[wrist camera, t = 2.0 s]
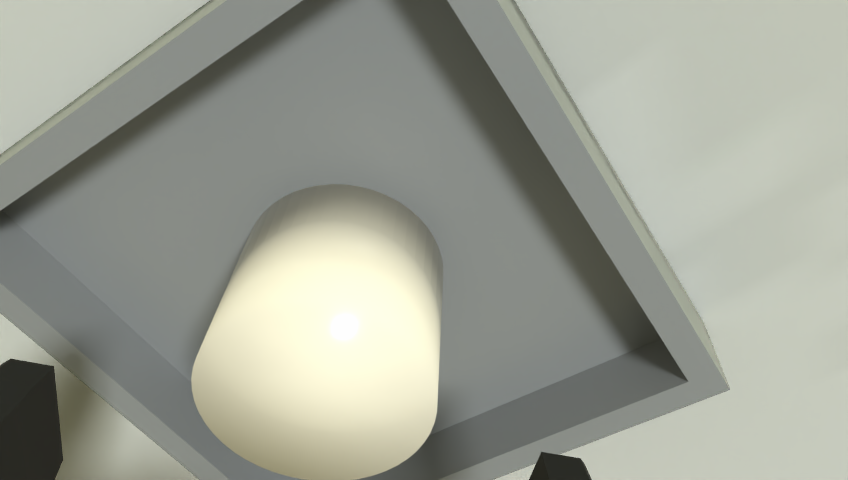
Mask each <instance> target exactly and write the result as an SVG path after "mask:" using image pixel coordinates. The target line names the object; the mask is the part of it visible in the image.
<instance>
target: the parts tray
mask: <svg viewBox="0 0 848 480" xmlns="http://www.w3.org/2000/svg"><path fill="white" fill-rule="evenodd" d="M328 184H343V185H352V186H359V187H363V188H367V189H371V190H374V191H377V192H379V193H382V194H385V195H387V196H389V197H391V198H393V199H395V200H396V201H398V202H400V203H401V204H403V205H404V206H406V207H407V208H409V209H410V210H411V211H412V212H413V213H414V214H416V215H417V216H418V217H419V218H420V219H421V220H422V222H423V223H424V224H425V225H426V226H427V227H428V229H429V230H430V232H431V233H432V235H433V236H434V238H435V241H436V243H437V245H438V247H439V250H440V253H441V257H442V262H443V293H442V315H441V337H440V358H439V380H438V402H437V414H436V419H435V423H434V426H433V428H432V430H431V433H430V434H429V436H428V438H427V439H426V441H425V442H424V444H423V445H422V446H421V447H420V448H419V449H418V450H417V451H416V452H415V453H414V454H413V455H412V456H410V457H409V458H408V459H407V460H405V461H404V462H402V463H400V464H399V465H397V466H395V467H393V468H391V469H389V470H387V471H385V472H382V473H379V474H376V475H373V476H369V477H365V478H361V479H355V480H493V479H496V478H499V477H501V476H504V475H506V474H509V473H512V472H514V471H517V470H520V469H522V468H525V467H528V466H530V465H533V464H535V463H537V461H538V458H539V456H540V454H541V452H546V453H552V454H557V455H559V454H562V453H564V452H567V451H570V450H572V449H575V448H578V447H580V446H583V445H586V444H588V443H591V442H593V441H596V440H599V439H601V438H604V437H607V436H609V435H612V434H615V433H617V432H620V431H622V430H625V429H628V428H630V427H633V426H636V425H638V424H641V423H644V422H646V421H649V420H651V419H654V418H657V417H659V416H662V415H665V414H667V413H670V412H673V411H675V410H678V409H680V408H683V407H686V406H688V405H691V404H694V403H696V402H699V401H702V400H704V399H707V398H709V397H712V396H715V395H717V394H720V393H723V392H725V391H728V390H730V388H729V385H728V383H727V380H726V378H725V375H724V373H723V370H722V368H721V365H720V363H719V360H718V358H717V355H716V353H715V350H714V348H713V345H712V342H711V340H710V337H709V335H708V332H707V330H706V327H705V325H704V323H703V321H702V319H701V317H700V316H699V314H698V312H697V311H696V309H695V307H694V306H693V304H692V302H691V300H690V299H689V297H688V295H687V294H686V292H685V290H684V288H683V287H682V285H681V283H680V282H679V280H678V278H677V277H676V275H675V273H674V271H673V270H672V268H671V266H670V265H669V263H668V261H667V259H666V258H665V256H664V254H663V253H662V251H661V249H660V248H659V246H658V244H657V242H656V241H655V239H654V237H653V236H652V234H651V232H650V231H649V229H648V227H647V225H646V224H645V222H644V220H643V219H642V217H641V215H640V213H639V212H638V210H637V208H636V207H635V205H634V203H633V202H632V200H631V198H630V196H629V195H628V193H627V191H626V190H625V188H624V186H623V184H622V183H621V181H620V179H619V178H618V176H617V174H616V173H615V171H614V169H613V167H612V166H611V164H610V162H609V161H608V159H607V157H606V156H605V154H604V152H603V150H602V149H601V147H600V145H599V144H598V142H597V140H596V138H595V137H594V135H593V133H592V132H591V130H590V128H589V127H588V125H587V123H586V121H585V120H584V118H583V116H582V115H581V113H580V111H579V109H578V108H577V106H576V104H575V103H574V101H573V99H572V98H571V96H570V94H569V92H568V91H567V89H566V87H565V86H564V84H563V82H562V81H561V79H560V77H559V75H558V74H557V72H556V70H555V69H554V67H553V65H552V63H551V62H550V60H549V58H548V57H547V55H546V53H545V52H544V50H543V48H542V46H541V45H540V43H539V41H538V40H537V38H536V36H535V34H534V33H533V31H532V29H531V28H530V26H529V24H528V23H527V21H526V19H525V17H524V16H523V14H522V12H521V11H520V9H519V7H518V6H517V4H516V2H515V0H210V1H209V2H207V3H206V4H205V5H203V6H202V7H201V8H199V9H198V10H196V11H195V12H194V13H192V14H191V15H190V16H188V17H187V18H186V19H184V20H183V21H182V22H180V23H179V24H177V25H176V26H175V27H173V28H172V29H171V30H169V31H168V32H167V33H165V34H164V35H162V36H161V37H160V38H158V39H157V40H156V41H154V42H153V43H152V44H150V45H149V46H147V47H146V48H145V49H143V50H142V51H141V52H139V53H138V54H137V55H135V56H134V57H133V58H131V59H130V60H128V61H127V62H126V63H124V64H123V65H122V66H120V67H119V68H118V69H116V70H115V71H113V72H112V73H111V74H109V75H108V76H107V77H105V78H104V79H103V80H101V81H100V82H99V83H97V84H96V85H94V86H93V87H92V88H90V89H89V90H88V91H86V92H85V93H84V94H82V95H81V96H79V97H78V98H77V99H75V100H74V101H73V102H71V103H70V104H69V105H67V106H66V107H64V108H63V109H62V110H60V111H59V112H58V113H56V114H55V115H54V116H52V117H51V118H50V119H48V120H47V121H45V122H44V123H43V124H41V125H40V126H39V127H37V128H36V129H35V130H33V131H32V132H30V133H29V134H28V135H26V136H25V137H24V138H22V139H21V140H20V141H18V142H17V143H15V144H14V145H13V146H11V147H10V148H9V149H7V150H6V151H5V152H3V153H2V154H1V155H0V313H1V314H2V315H3V316H4V317H6V318H7V319H8V320H9V321H10V322H12V323H13V324H14V325H15V326H16V327H18V328H19V329H20V330H21V331H22V332H24V333H25V334H26V335H27V336H28V337H29V338H31V339H32V340H33V341H34V342H35V343H37V344H38V345H39V346H40V347H41V348H43V349H44V350H45V351H46V352H47V353H49V354H50V355H51V356H52V357H53V358H55V359H56V360H57V361H58V362H59V363H61V364H62V365H63V366H64V367H65V368H67V369H68V370H69V371H70V372H71V373H73V374H74V375H75V376H76V377H77V378H78V379H80V380H81V381H82V382H83V383H84V384H86V385H87V386H88V387H89V388H90V389H92V390H93V391H94V392H95V393H96V394H98V395H99V396H100V397H101V398H102V399H104V400H105V401H106V402H107V403H108V404H110V405H111V406H112V407H113V408H114V409H116V410H117V411H118V412H119V413H120V414H121V415H123V416H124V417H125V418H126V419H127V420H129V421H130V422H131V423H132V424H133V425H135V426H136V427H137V428H138V429H139V430H141V431H142V432H143V433H144V434H145V435H147V436H148V437H149V438H150V439H151V440H153V441H154V442H155V443H156V444H157V445H159V446H160V447H161V448H162V449H163V450H165V451H166V452H167V453H168V454H169V455H170V456H172V457H173V458H174V459H175V460H176V461H178V462H179V463H180V464H181V465H182V466H184V467H185V468H186V469H187V470H188V471H190V472H191V473H192V474H193V475H194V476H196V477H197V478H198V479H199V480H305V479H299V478H294V477H289V476H285V475H282V474H279V473H275V472H272V471H270V470H267V469H265V468H262V467H260V466H257V465H256V464H254V463H252V462H250V461H248V460H246V459H244V458H243V457H241V456H239V455H238V454H236V453H235V452H233V451H232V450H231V449H230V448H228V447H227V446H226V445H224V444H223V443H222V442H221V441H220V440H219V439H218V438H217V437H216V436H215V435H214V434H213V433H212V431H211V430H210V429H209V428H208V426H207V425H206V424H205V422H204V420H203V419H202V417H201V415H200V414H199V412H198V409H197V407H196V404H195V402H194V398H193V393H192V383H191V377H192V370H193V365H194V362H195V360H196V357H197V354H198V352H199V350H200V347H201V345H202V343H203V340H204V338H205V336H206V333H207V331H208V329H209V327H210V324H211V322H212V320H213V317H214V315H215V313H216V311H217V308H218V306H219V304H220V301H221V299H222V297H223V294H224V292H225V290H226V288H227V285H228V283H229V281H230V278H231V276H232V274H233V271H234V269H235V267H236V265H237V262H238V260H239V258H240V255H241V253H242V251H243V248H244V246H245V244H246V242H247V239H248V237H249V235H250V232H251V230H252V228H253V227H254V225H255V223H256V221H257V220H258V219H259V217H260V216H261V215H262V214H263V212H264V211H266V210H267V209H268V208H269V207H270V206H271V205H272V204H274V203H275V202H276V201H278V200H279V199H281V198H282V197H284V196H286V195H288V194H290V193H292V192H295V191H298V190H301V189H304V188H308V187H313V186H317V185H328Z"/></svg>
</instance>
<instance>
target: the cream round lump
mask: <svg viewBox="0 0 848 480" xmlns="http://www.w3.org/2000/svg"><path fill="white" fill-rule="evenodd" d="M442 293H443V262H442V257H441V253H440V250H439V247H438V245H437V243H436V241H435V238H434V236H433V235H432V233H431V232H430V230H429V229H428V227H427V226H426V225H425V224H424V223H423V222H422V220H421V219H420V218H419V217H418V216H417V215H416V214H414V213H413V212H412V211H411V210H410V209H409V208H407V207H406V206H404V205H403V204H401V203H400V202H398V201H396V200H395V199H393V198H391V197H389V196H387V195H385V194H382V193H379V192H377V191H374V190H371V189H367V188H363V187H359V186H352V185H343V184H328V185H317V186H313V187H308V188H304V189H301V190H298V191H295V192H292V193H290V194H288V195H286V196H284V197H282V198H281V199H279V200H278V201H276V202H275V203H274V204H272V205H271V206H270V207H269V208H268V209H267V210H266V211H264V212H263V214H262V215H261V216H260V217H259V219H258V220H257V221H256V223H255V225H254V227H253V228H252V230H251V232H250V235H249V237H248V239H247V242H246V244H245V246H244V248H243V251H242V253H241V255H240V258H239V260H238V262H237V265H236V267H235V269H234V271H233V274H232V276H231V278H230V281H229V283H228V285H227V288H226V290H225V292H224V294H223V297H222V299H221V301H220V304H219V306H218V308H217V311H216V313H215V315H214V317H213V320H212V322H211V324H210V327H209V329H208V331H207V333H206V336H205V338H204V340H203V343H202V345H201V347H200V350H199V352H198V354H197V357H196V360H195V362H194V365H193V370H192V377H191V383H192V393H193V398H194V402H195V404H196V407H197V409H198V412H199V414H200V415H201V417H202V419H203V420H204V422H205V424H206V425H207V426H208V428H209V429H210V430H211V431H212V433H213V434H214V435H215V436H216V437H217V438H218V439H219V440H220V441H221V442H222V443H223V444H224V445H226V446H227V447H228V448H230V449H231V450H232V451H233V452H235V453H236V454H238V455H239V456H241V457H243V458H244V459H246V460H248V461H250V462H252V463H254V464H256V465H257V466H260V467H262V468H265V469H267V470H270V471H272V472H275V473H279V474H282V475H285V476H289V477H294V478H299V479H305V480H355V479H361V478H365V477H369V476H373V475H376V474H379V473H382V472H385V471H387V470H389V469H391V468H393V467H395V466H397V465H399V464H400V463H402V462H404V461H405V460H407V459H408V458H409V457H410V456H412V455H413V454H414V453H415V452H416V451H417V450H418V449H419V448H420V447H421V446H422V445H423V444H424V442H425V441H426V439H427V438H428V436H429V434H430V433H431V430H432V428H433V426H434V423H435V419H436V414H437V402H438V380H439V358H440V337H441V315H442Z"/></svg>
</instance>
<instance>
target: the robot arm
mask: <svg viewBox="0 0 848 480" xmlns="http://www.w3.org/2000/svg"><path fill="white" fill-rule="evenodd" d="M62 461H63V456H62V445H61V435H60V424H59V414H58V404H57V393H56V383H55V373H54V366H49V365H43V364H37V363H32V362H26V361H20V360H15V359H10V360H8V361H6V362H5V363H3V364H2V365H0V480H55V477H56V475H57V473H58V470H59V468H60V465H61V463H62ZM529 480H592V479H591V477H590V475H589V473H588V471H587V468H586V466H585V464H584V463H583V461H582V460H581V459H580V458H574V457H569V456H563V455H557V454H552V453H546V452H541V454H540V456H539V458H538V461H537V463H536V465H535V467H534V470H533V472H532V474H531V477H530V479H529Z"/></svg>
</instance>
